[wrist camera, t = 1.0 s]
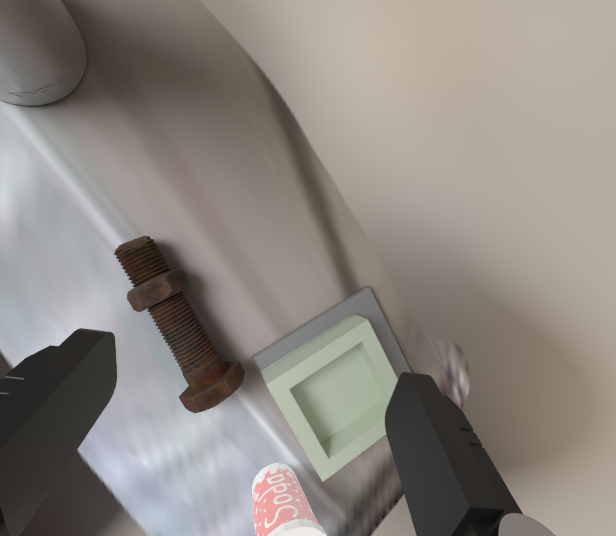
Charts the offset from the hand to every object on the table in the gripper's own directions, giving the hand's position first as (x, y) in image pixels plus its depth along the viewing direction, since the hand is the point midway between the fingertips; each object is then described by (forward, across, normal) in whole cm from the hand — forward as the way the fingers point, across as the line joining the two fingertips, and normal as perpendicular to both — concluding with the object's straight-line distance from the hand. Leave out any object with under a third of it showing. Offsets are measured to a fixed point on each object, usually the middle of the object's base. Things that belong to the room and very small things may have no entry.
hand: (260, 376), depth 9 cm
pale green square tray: (+19, -9, +17) cm, 27 cm away
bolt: (+19, +8, +12) cm, 24 cm away
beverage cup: (+14, -4, +27) cm, 31 cm away
